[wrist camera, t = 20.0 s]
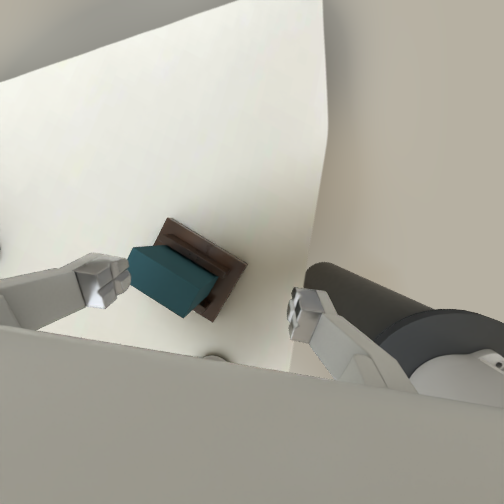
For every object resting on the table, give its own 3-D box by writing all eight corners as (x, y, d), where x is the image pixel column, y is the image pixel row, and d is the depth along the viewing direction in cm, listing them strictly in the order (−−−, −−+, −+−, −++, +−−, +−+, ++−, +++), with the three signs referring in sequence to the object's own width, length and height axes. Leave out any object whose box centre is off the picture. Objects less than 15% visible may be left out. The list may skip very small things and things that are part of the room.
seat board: (247, 264, 32) (243, 268, 28) (215, 318, 34) (206, 331, 29) (171, 218, 33) (156, 215, 29) (143, 274, 34) (124, 279, 30)
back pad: (220, 274, 31) (200, 289, 22) (207, 295, 32) (183, 318, 23) (171, 244, 32) (132, 247, 23) (160, 265, 32) (118, 277, 23)
